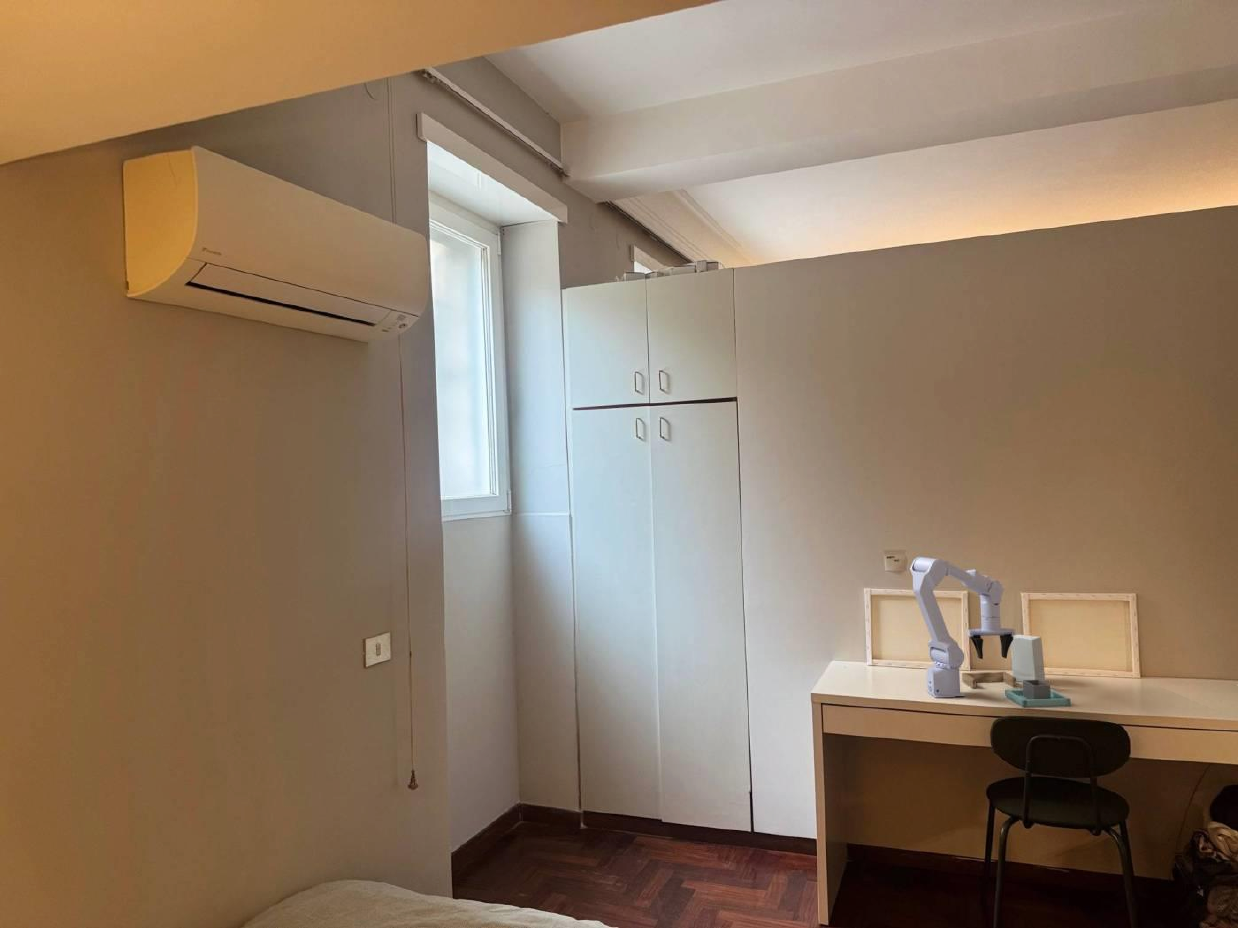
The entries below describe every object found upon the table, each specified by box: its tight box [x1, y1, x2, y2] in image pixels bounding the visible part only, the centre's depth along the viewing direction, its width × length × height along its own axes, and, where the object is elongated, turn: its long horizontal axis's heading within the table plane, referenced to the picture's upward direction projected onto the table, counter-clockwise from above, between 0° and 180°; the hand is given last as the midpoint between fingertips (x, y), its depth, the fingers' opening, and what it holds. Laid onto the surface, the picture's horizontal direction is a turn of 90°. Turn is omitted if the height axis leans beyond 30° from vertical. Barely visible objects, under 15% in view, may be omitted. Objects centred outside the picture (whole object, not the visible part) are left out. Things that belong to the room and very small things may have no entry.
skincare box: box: [1009, 633, 1046, 683], centre depth 275 cm, size 8×6×15 cm
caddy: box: [1022, 680, 1051, 700], centre depth 253 cm, size 5×7×5 cm
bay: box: [961, 671, 1017, 689], centre depth 273 cm, size 14×8×3 cm, turn 89°
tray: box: [1004, 688, 1072, 708], centre depth 253 cm, size 14×12×2 cm
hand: (992, 657), depth 270 cm, fingers open, 7 cm apart
